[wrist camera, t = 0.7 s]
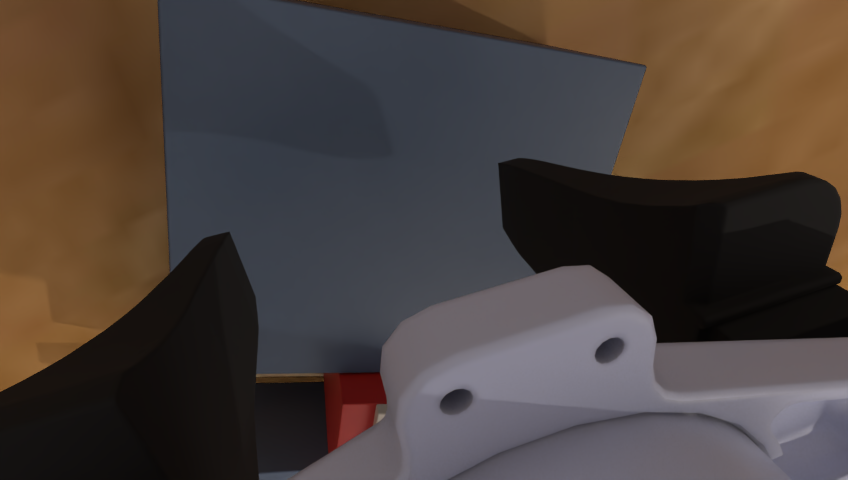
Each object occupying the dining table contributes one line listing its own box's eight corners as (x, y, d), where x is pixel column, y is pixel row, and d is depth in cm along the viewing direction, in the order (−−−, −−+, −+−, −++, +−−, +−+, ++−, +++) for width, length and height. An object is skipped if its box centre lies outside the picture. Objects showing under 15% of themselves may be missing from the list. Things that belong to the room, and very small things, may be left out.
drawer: (446, 442, 31) (474, 528, 26) (219, 454, 28) (201, 556, 23) (501, 218, 25) (552, 273, 20) (219, 196, 21) (194, 258, 16)
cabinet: (489, 282, 28) (547, 371, 21) (208, 272, 24) (173, 376, 17) (548, 45, 23) (648, 65, 16) (206, -16, 19) (155, -23, 12)
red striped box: (381, 374, 26) (408, 500, 20) (323, 375, 25) (331, 507, 19) (393, 300, 24) (427, 411, 18) (331, 298, 24) (343, 415, 17)
